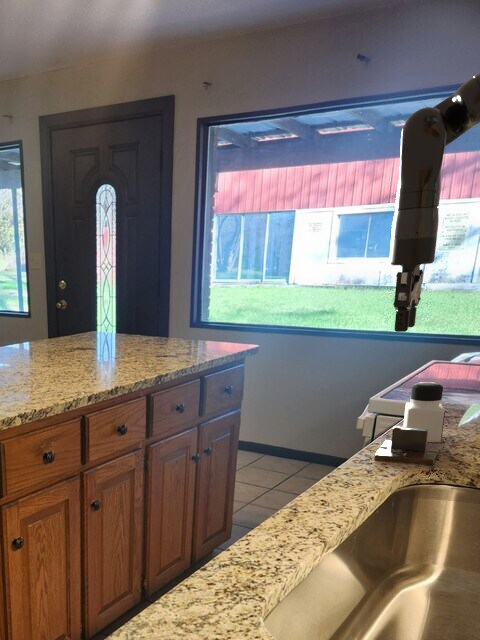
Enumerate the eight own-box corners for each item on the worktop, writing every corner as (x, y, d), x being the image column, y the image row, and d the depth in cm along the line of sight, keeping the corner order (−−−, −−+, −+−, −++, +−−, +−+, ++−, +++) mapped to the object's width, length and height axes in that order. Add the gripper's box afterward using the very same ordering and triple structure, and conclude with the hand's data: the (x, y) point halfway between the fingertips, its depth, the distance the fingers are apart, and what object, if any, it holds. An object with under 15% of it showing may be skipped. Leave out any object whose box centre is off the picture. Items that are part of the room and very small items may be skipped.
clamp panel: (439, 459, 134) (441, 443, 133) (432, 475, 124) (434, 459, 123) (383, 454, 139) (385, 439, 138) (372, 470, 129) (374, 453, 128)
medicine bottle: (441, 443, 145) (448, 386, 141) (404, 441, 147) (410, 386, 143) (437, 435, 151) (444, 380, 147) (402, 434, 153) (408, 380, 149)
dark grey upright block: (426, 449, 130) (428, 427, 128) (424, 451, 128) (427, 429, 127) (392, 446, 133) (394, 425, 131) (390, 448, 131) (392, 427, 130)
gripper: (431, 234, 115) (421, 333, 121) (441, 235, 127) (431, 325, 132) (384, 237, 119) (376, 333, 125) (398, 238, 130) (389, 325, 136)
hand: (404, 329), depth 128 cm, fingers open, 8 cm apart
